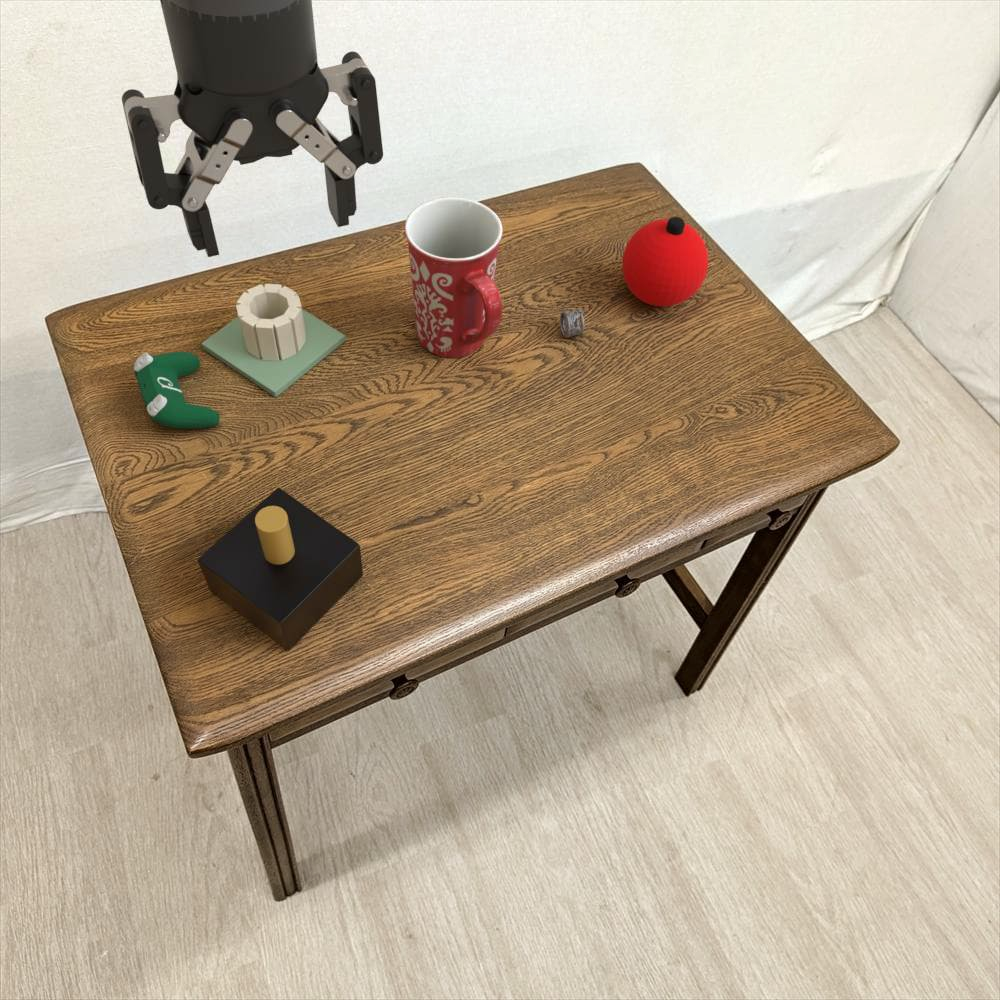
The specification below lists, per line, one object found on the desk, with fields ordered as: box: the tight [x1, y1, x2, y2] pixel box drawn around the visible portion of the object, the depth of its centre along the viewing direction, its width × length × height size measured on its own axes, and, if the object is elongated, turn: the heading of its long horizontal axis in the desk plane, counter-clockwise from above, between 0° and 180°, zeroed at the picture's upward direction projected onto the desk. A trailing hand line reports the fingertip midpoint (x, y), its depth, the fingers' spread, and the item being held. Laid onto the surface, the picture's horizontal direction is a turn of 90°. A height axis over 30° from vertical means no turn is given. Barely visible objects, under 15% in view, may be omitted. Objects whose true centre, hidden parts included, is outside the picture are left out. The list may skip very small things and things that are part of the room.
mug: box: [404, 196, 504, 359], centre depth 87 cm, size 13×9×14 cm
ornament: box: [621, 216, 709, 308], centre depth 95 cm, size 9×9×10 cm
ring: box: [235, 283, 306, 361], centre depth 88 cm, size 6×6×4 cm
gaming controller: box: [133, 351, 221, 430], centre depth 84 cm, size 9×4×6 cm
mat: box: [201, 308, 346, 398], centre depth 90 cm, size 10×10×1 cm
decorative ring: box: [559, 308, 585, 339], centre depth 93 cm, size 3×2×3 cm
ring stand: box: [196, 486, 364, 652], centre depth 71 cm, size 9×9×10 cm
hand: (275, 233), depth 58 cm, fingers open, 8 cm apart
